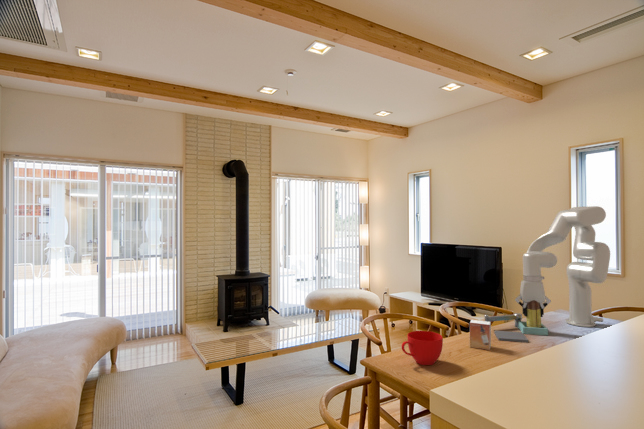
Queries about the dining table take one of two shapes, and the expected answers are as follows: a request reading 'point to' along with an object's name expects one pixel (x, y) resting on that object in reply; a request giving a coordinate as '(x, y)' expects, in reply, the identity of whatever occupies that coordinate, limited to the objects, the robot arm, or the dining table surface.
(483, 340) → the small box
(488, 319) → the bar
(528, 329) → the teal square frame
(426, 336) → the ceramic cup
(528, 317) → the sauce bottle
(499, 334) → the pad
